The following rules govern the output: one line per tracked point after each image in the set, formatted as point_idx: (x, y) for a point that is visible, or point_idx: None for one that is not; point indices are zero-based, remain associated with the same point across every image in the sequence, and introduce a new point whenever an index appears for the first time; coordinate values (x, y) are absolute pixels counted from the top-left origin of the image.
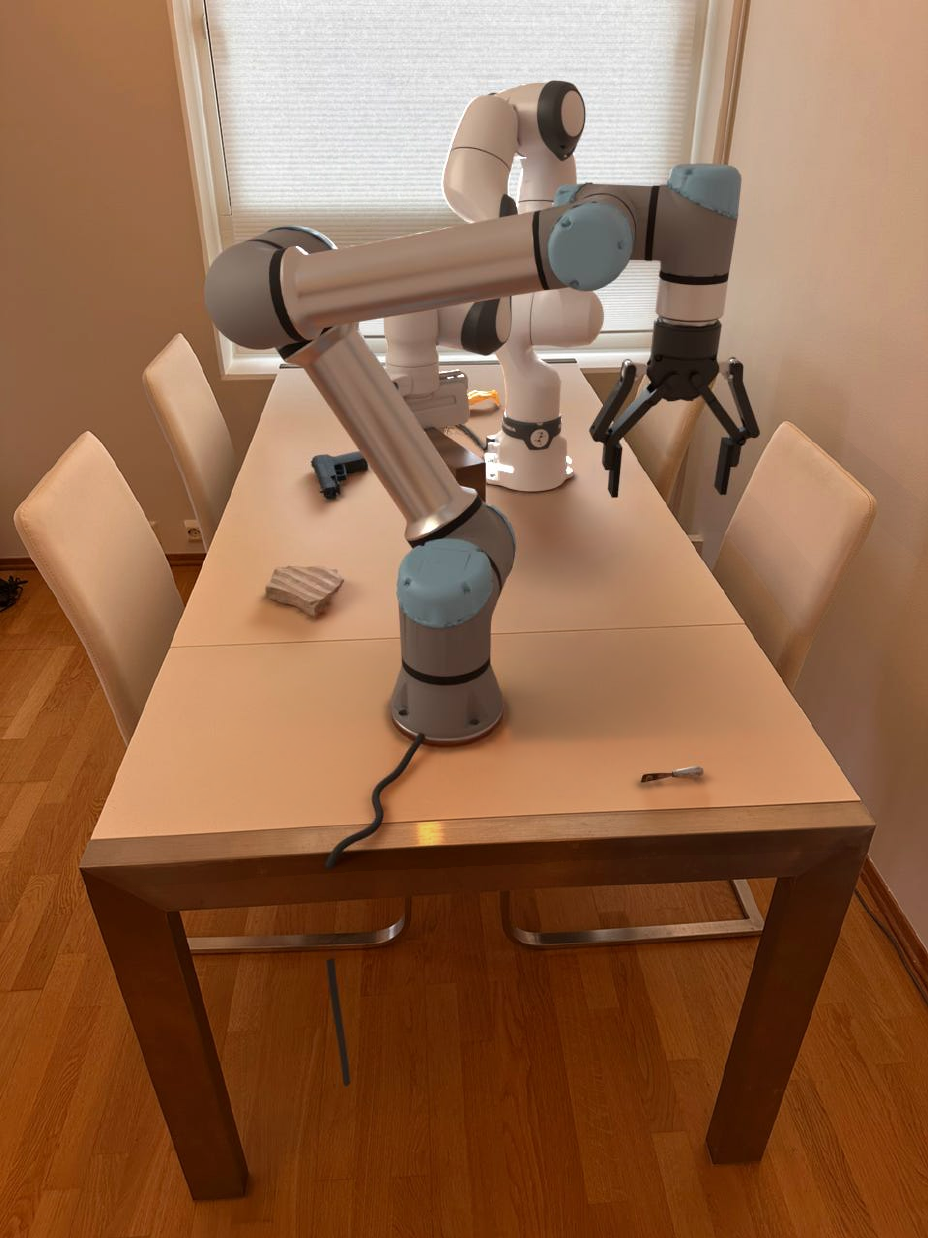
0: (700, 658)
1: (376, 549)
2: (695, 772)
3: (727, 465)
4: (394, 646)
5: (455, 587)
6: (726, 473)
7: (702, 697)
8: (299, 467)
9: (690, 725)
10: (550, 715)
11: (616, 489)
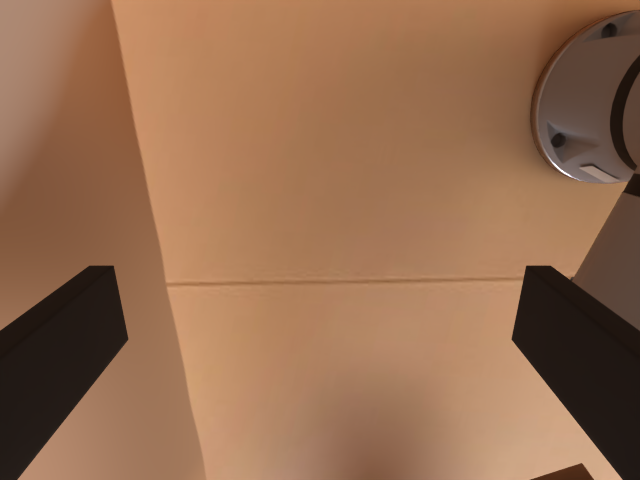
0: (229, 208)
1: (599, 467)
2: None
3: (9, 338)
4: None
5: None
6: (40, 314)
7: (245, 116)
8: None
9: (276, 49)
10: (467, 86)
11: (553, 281)
